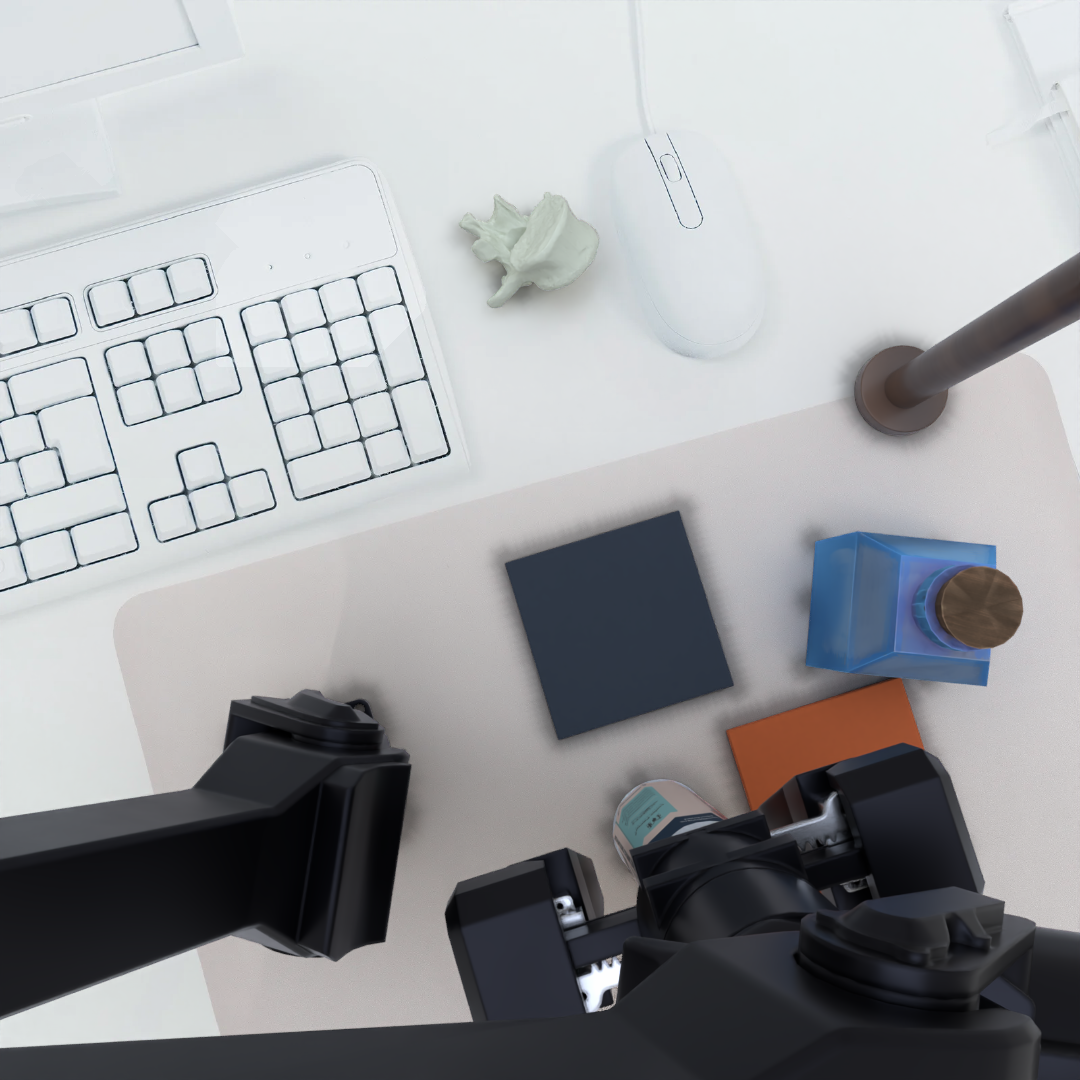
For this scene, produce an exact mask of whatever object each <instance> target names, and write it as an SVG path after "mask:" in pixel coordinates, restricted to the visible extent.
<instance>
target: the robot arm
mask: <svg viewBox="0 0 1080 1080" xmlns="http://www.w3.org/2000/svg"><path fill="white" fill-rule="evenodd" d="M358 705H360V706H363V708H364V711H362V710H360V709H356V708H357V706H358ZM385 731H386V728H385V727H384V726H383V725H382V724H380V723H379V721H377V720H375V717H374V713H373V710H372V706H371V705H370V702H369V701H367V699H364V698H356V699H353V700H349V701H346V702H341V701H337V700H335V699H331V698H328V697H325V695H324V694H323V693H322V692H321V690H317V689H310V688H304V689H302V690H300V691H298V692H297V693H296V694H294V695H293V696H291V698H288V697H287V698H281V697H272V696H271V697H270V696H263V695H251V696H250V698H244V699H231V700H230V704H229V709H228V716H227V723H226V729H225V735H224V740H223V742H224V743H223V747H222V753H221V754H220V755H219V756H218V758H216V759H215V761H214V762H213V763H212V764H211V765H210V767H209V768H208V769H207V770H206V771H205V772H204V773H203V774H202V775H201V777H200V778H199V779H198V780H197V781H196V782H195V783H194V785H193V786H192V787H191V788H186V789H183V790H181V789H180V790H176V791H168V792H161V793H155V794H149V795H143V796H141V795H140V796H136V797H129V798H122V799H116V800H108V801H102V802H96V803H95V802H94V803H89V804H83V805H76V806H70V807H69V806H68V807H63V808H56V809H50V810H42V811H37V812H36V811H35V812H30V813H29V812H28V813H24V814H17V815H10V816H9V815H8V816H4V817H3V816H2V817H0V1021H1V1020H4V1019H8V1018H10V1017H12V1016H15V1015H18V1014H21V1013H24V1012H27V1011H29V1010H32V1009H34V1008H37V1007H40V1006H44V1005H46V1004H48V1003H51V1002H54V1001H57V1000H59V999H63V998H65V997H67V996H70V995H73V994H76V993H78V992H81V991H83V990H86V989H89V988H92V987H94V986H97V985H100V984H102V983H105V982H108V981H111V980H113V979H116V978H119V977H122V976H124V975H127V974H130V973H134V972H136V971H138V970H141V969H143V968H146V967H148V966H152V965H154V964H158V963H160V962H162V961H166V960H168V959H171V958H174V957H177V956H179V955H182V954H184V953H188V952H189V951H193V950H196V949H198V948H201V947H203V946H207V945H209V944H211V943H215V942H217V941H219V940H222V939H223V940H224V939H225V938H228V937H235V938H238V939H242V940H245V941H248V942H252V943H255V944H258V945H260V946H262V947H264V948H266V949H269V950H271V951H273V952H274V953H277V954H282V955H285V956H291V957H296V958H305V959H321V958H322V959H323V958H324V959H327V960H330V961H331V962H334V963H337V962H339V961H340V960H341V959H342V958H344V957H345V956H346V955H347V954H349V953H350V952H352V951H354V950H357V949H360V948H363V947H366V946H370V945H371V946H372V945H377V944H383V943H386V941H387V933H388V927H389V922H390V921H389V920H390V913H391V908H392V901H393V894H394V889H395V888H394V887H395V881H396V875H397V867H398V861H399V853H400V846H401V841H402V834H403V827H404V820H405V815H406V814H405V813H406V807H407V802H408V801H407V800H408V794H409V788H410V781H411V780H410V779H411V773H412V767H413V765H412V763H410V758H411V754H410V753H409V752H408V751H407V749H405V748H400V747H399V748H398V747H391V743H390V740H389V736H388V735H387V734H385V733H386V732H385ZM961 808H962V807H961V805H960V802H959V799H958V795H957V793H956V790H955V787H954V784H953V780H952V778H951V775H950V773H949V772H948V770H947V769H946V767H945V766H944V764H943V763H942V761H941V759H940V758H939V757H937V756H936V755H934V754H932V753H930V752H928V751H926V749H925V750H923V749H922V748H919V747H915V746H912V745H909V744H906V743H903V742H902V743H899V744H896V745H893V746H890V747H886V748H883V749H880V750H877V751H874V752H871V753H867V754H864V755H861V756H858V757H854V758H849V759H845V760H842V761H839V762H836V763H833V764H830V765H826V766H823V767H820V768H817V769H814V770H810V771H807V772H804V773H801V774H798V775H795V776H794V777H793V778H791V779H790V780H789V781H788V782H787V783H785V784H784V785H783V786H782V787H781V788H780V789H779V790H778V791H776V792H775V793H774V794H773V795H772V796H770V797H769V798H768V799H767V800H766V801H765V802H763V803H762V804H761V805H760V806H759V808H758V809H757V810H754V811H751V810H750V811H748V812H745V813H741V814H738V815H735V816H732V817H727V818H728V819H725V820H722V821H719V822H716V823H713V824H709V825H706V826H703V827H700V828H697V829H694V830H690V831H687V832H684V833H681V834H678V835H674V836H671V837H668V838H665V839H662V840H659V841H655V842H652V843H649V844H646V845H643V846H640V847H636V848H633V849H630V850H629V852H630V855H631V858H632V861H633V865H634V868H635V871H636V875H637V878H638V881H639V884H640V885H639V886H637V891H636V899H635V901H636V902H635V903H636V905H633V906H630V907H627V908H623V909H620V910H617V911H614V912H611V913H607V914H605V899H604V895H603V891H602V888H601V884H600V881H599V878H598V875H597V871H596V868H595V865H594V861H593V859H592V858H590V857H588V856H586V855H584V854H582V853H580V852H577V851H576V850H574V849H571V848H569V847H563V848H559V849H557V850H553V851H550V852H546V853H544V854H540V855H536V856H534V857H531V858H528V859H525V860H521V861H519V862H514V863H512V864H509V865H507V866H506V867H501V868H499V869H495V870H493V871H489V872H485V873H483V874H480V875H477V876H473V877H469V878H467V879H464V880H461V881H457V883H456V884H455V887H454V888H453V891H452V892H451V895H450V896H449V898H448V900H447V902H446V907H445V910H444V920H445V925H446V932H447V937H448V940H449V943H450V948H451V950H452V954H453V957H454V960H455V964H456V968H457V971H458V974H459V978H460V982H461V985H462V987H463V988H462V989H463V991H464V995H465V999H466V1002H467V1006H468V1008H469V1012H470V1016H471V1020H472V1021H460V1022H444V1023H443V1022H442V1023H426V1024H408V1025H406V1024H405V1025H391V1026H373V1027H370V1026H369V1027H353V1028H336V1029H319V1030H317V1029H316V1030H301V1031H298V1030H297V1031H284V1032H283V1031H281V1032H263V1033H248V1034H247V1033H246V1034H245V1033H243V1034H227V1035H211V1036H193V1037H176V1038H175V1037H173V1038H156V1039H155V1038H154V1039H138V1040H136V1039H135V1040H121V1041H107V1042H106V1041H103V1042H84V1043H68V1044H67V1043H65V1044H50V1045H49V1044H48V1045H31V1046H12V1047H0V1080H1080V931H1072V930H1065V929H1059V928H1058V929H1057V928H1052V927H1044V926H1037V922H1035V921H1034V920H1031V919H1029V918H1027V917H1023V916H1020V915H1015V914H1010V913H1005V907H1006V901H1005V900H1002V899H998V898H995V897H991V896H988V895H984V891H985V885H986V881H985V878H984V875H983V872H982V869H981V866H980V862H979V860H978V856H977V853H976V851H975V848H974V845H973V841H972V838H971V835H970V832H969V829H968V826H967V823H966V820H965V817H964V814H963V811H962V809H961ZM819 891H821V893H820V892H819ZM618 956H621V959H620V958H618ZM608 959H611V963H609V962H608ZM614 988H616V989H617V990H616V997H615V1001H614V996H613V995H614V994H613V990H612V989H614ZM605 1007H606V1008H607V1007H610V1008H608V1009H604V1010H600V1009H603V1008H605Z"/></svg>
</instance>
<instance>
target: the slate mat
mask: <svg viewBox="0 0 1080 1080" xmlns="http://www.w3.org/2000/svg"><path fill="white" fill-rule="evenodd" d="M688 537H689V536H688V535H687V532H686V527H685V525H684V522H683V519H682V516H681V511H680V510H674V511H672V512H668V513H665V514H661V515H659V516H655V517H652V518H649V519H645V520H641V521H639V522H635V523H632V524H629V525H625V526H622V527H619V528H616V529H612V530H609V531H606V532H603V533H599V534H596V535H595V534H594V535H592V536H588V537H586V538H582V539H580V540H576V541H572V542H569V543H566V544H563V545H559V546H555V547H552V548H550V549H545V550H543V551H540V552H539V551H538V552H536V553H533V554H530V555H527V556H524V557H519V558H516V559H514V560H510V561H506V562H505V563H504V565H505V569H506V572H507V576H508V579H509V582H510V585H511V589H512V592H513V596H514V598H515V599H514V600H515V602H516V605H517V609H518V612H519V615H520V618H521V622H522V625H523V628H524V632H525V635H526V638H527V642H528V645H529V648H530V651H531V655H532V658H533V661H534V664H535V668H536V671H537V674H538V679H539V681H540V684H541V688H542V692H543V694H544V698H545V701H546V704H547V705H546V706H547V708H548V711H549V714H550V717H551V721H552V725H553V727H554V731H555V734H556V737H557V740H558V741H562V740H564V739H567V738H571V737H574V736H577V735H581V734H583V733H587V732H590V731H593V730H597V729H599V728H602V727H603V728H604V727H606V726H609V725H612V724H615V723H618V722H622V721H626V720H629V719H631V718H635V717H639V716H641V715H645V714H648V713H650V712H651V713H652V712H654V711H657V710H661V709H663V708H667V707H670V706H674V705H677V704H679V703H683V702H686V701H689V700H693V699H696V698H699V697H703V696H705V695H709V694H712V693H714V692H718V691H721V690H725V689H728V688H730V687H733V686H734V685H735V684H734V679H733V677H732V674H731V671H730V667H729V665H728V661H727V658H726V655H725V652H724V649H723V646H722V645H723V644H722V642H721V639H720V635H719V633H718V630H717V626H716V623H715V620H714V617H713V614H712V611H711V610H712V609H711V607H710V604H709V601H708V598H707V595H706V592H705V588H704V585H703V582H702V579H701V576H700V572H699V569H698V567H697V563H696V559H695V557H694V553H693V549H692V547H691V544H690V541H689V538H688Z"/></svg>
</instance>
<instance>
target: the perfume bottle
mask: <svg viewBox="0 0 1080 1080" xmlns="http://www.w3.org/2000/svg"><path fill="white" fill-rule="evenodd" d="M1015 583H1016V582H1014V581H1013V580H1012V579H1011V577H1010V576H1009V575H1007V574H1006V573H1004V572H1002V571H1001V570H999V569H998V568H997V545H995V544H984V543H978V542H977V543H976V542H966V541H957V540H947V539H937V538H936V539H935V538H926V537H917V536H907V535H897V534H889V533H878V532H870V531H859V530H857V531H852V532H848V533H843V534H840V535H835V536H831V537H827V538H823V539H820V540H815V542H814V555H813V567H812V580H811V592H810V594H811V595H810V604H809V617H808V629H807V630H808V631H807V642H806V656H805V666H806V667H810V668H811V667H812V668H816V669H822V670H823V669H824V670H829V671H835V672H839V673H847V674H848V673H849V674H857V675H865V676H866V675H868V676H876V677H877V676H878V677H887V678H893V677H896V678H901V679H905V680H906V679H907V680H915V681H916V680H918V681H927V682H936V683H948V684H956V685H957V684H958V685H965V686H966V685H967V686H978V687H986V688H987V687H988V680H989V672H990V665H991V654H992V649H994V648H997V647H1000V646H1002V645H1005V644H1006V643H1007V642H1008V641H1009V640H1010V639H1011V638H1013V637H1014V636H1015V634H1016V633H1017V631H1018V629H1019V628H1020V626H1021V624H1022V619H1023V615H1024V604H1023V602H1024V601H1023V597H1022V595H1021V592H1020V590H1019V588H1018V586H1017V585H1016V584H1015Z"/></svg>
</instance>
